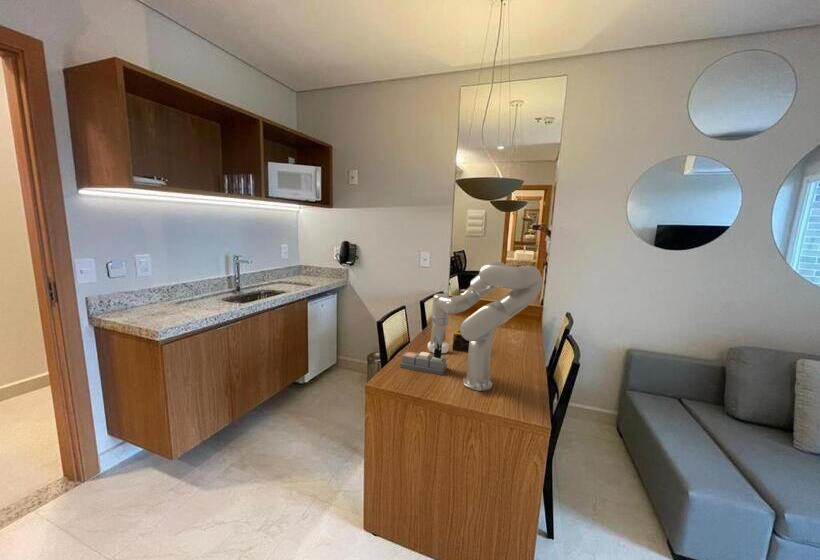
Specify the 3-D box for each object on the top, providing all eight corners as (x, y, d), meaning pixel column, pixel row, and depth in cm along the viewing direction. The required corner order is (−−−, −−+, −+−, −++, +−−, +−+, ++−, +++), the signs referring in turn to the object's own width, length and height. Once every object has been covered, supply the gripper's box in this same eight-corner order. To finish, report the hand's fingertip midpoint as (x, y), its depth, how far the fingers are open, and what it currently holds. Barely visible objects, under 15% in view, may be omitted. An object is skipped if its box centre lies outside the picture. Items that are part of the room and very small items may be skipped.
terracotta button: (415, 359, 166) (416, 353, 165) (413, 362, 162) (413, 356, 161) (407, 358, 167) (407, 352, 167) (404, 361, 163) (404, 355, 163)
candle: (470, 352, 185) (471, 335, 183) (452, 350, 186) (453, 333, 185) (470, 346, 194) (471, 330, 193) (453, 344, 196) (454, 328, 195)
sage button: (443, 362, 161) (443, 356, 161) (441, 366, 157) (441, 359, 156) (434, 361, 163) (434, 355, 162) (432, 364, 158) (432, 358, 158)
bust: (448, 356, 184) (450, 337, 189) (448, 352, 177) (450, 332, 183) (427, 354, 186) (429, 335, 191) (426, 350, 179) (428, 330, 185)
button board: (446, 367, 163) (447, 357, 162) (442, 375, 155) (442, 363, 154) (406, 360, 170) (407, 350, 169) (400, 367, 162) (400, 356, 161)
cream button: (429, 359, 163) (429, 353, 163) (426, 362, 159) (427, 356, 159) (421, 357, 165) (421, 351, 164) (418, 360, 161) (418, 354, 160)
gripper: (436, 315, 165) (434, 350, 168) (427, 323, 151) (425, 361, 154) (451, 317, 162) (448, 353, 165) (443, 325, 148) (441, 364, 151)
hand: (437, 357), depth 160 cm, fingers closed
